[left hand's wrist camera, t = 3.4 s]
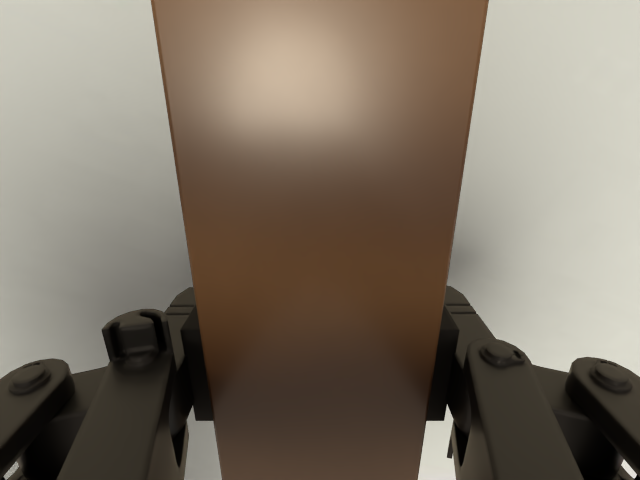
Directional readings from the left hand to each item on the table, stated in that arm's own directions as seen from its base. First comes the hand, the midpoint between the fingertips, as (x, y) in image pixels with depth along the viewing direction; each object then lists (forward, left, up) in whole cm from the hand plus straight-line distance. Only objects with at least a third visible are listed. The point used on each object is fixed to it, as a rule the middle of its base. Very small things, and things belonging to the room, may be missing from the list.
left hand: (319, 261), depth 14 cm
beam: (+7, +20, -1) cm, 21 cm away
